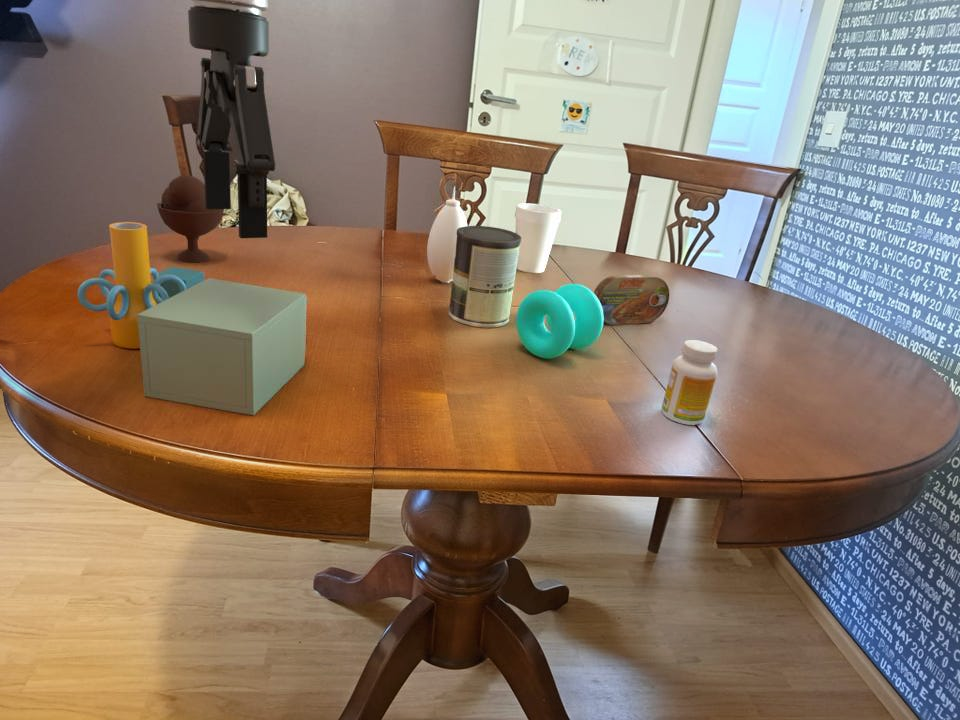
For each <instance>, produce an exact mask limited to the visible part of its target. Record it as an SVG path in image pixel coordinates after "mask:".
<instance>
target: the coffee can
mask: <svg viewBox="0 0 960 720" xmlns="http://www.w3.org/2000/svg"><path fill="white" fill-rule="evenodd" d="M521 239H522V238H521V236H520V235H518V234H516V232H514V231H511V230H508V229H505V228H501V227H494V226H485V225H467V226H464V227H460V228H458V229H457V241H456V251H455V260H454V270H453V280H452V281H451V290H450V298H449V309H448V316H449V318H451V319H452V320H454V321H455V322H456V323H460V324H461V325H465V326H470V327H473V328H474V327H475V328H486V329H489V328H500V327H503V326H505V325H507V324H508V323H509V322H510V315H511V314H510V313H511V307H512V300H513V294H514V288H515V287H514V286H515V281H516V272H517V268H516V267H517V260H518V253H519V246H520V243H521Z"/></svg>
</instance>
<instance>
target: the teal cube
mask: <svg viewBox="0 0 960 720" xmlns="http://www.w3.org/2000/svg"><path fill="white" fill-rule="evenodd" d="M158 274H159V277H160V276H163V275H174V276H177V277H179V278H180V279H181V280H182V281H183V282H184V283H185V285H186V289H188V288H190V287H192V286H194V285H196V284H198V283H200V282H202V281H204V280H205V272H204V271H203V270H197V269H190V268H184V267H179V266H178V267H176V266H171V267H168V268H166V269H164V270H162V271H159V272H158ZM160 286H161V287H163V288H164V289H165V291H166V292H167V294H168V296H169V298H171V297H173V296H175V295H177V294H179V293H180V287H179V286H178V284H177V283H175V282H173V281H164V282H162V283H161V284H160ZM158 295H159V297H160V298H161V299H162V297H161V295H160V294H159V293H158Z"/></svg>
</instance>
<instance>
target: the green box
mask: <svg viewBox="0 0 960 720" xmlns="http://www.w3.org/2000/svg"><path fill="white" fill-rule="evenodd" d="M306 297H307V293H306V292H305V293H304V292H299V291H298V292H297V291H293V290H285V289H279V288H273V287H267V286H262V285H261V286H260V285H255V284H248V283H242V282H235V281H230V280H222V279H219V278H218V279H217V278H212V277H209V278H206V279H204V281H202V282H200V283H198V284H196V285H194V286H192V287H190V288H188V289H186V290H185V291H183V292H181V293H179V294H177V295H175V296H173V297H171V298H169V299H167V300H165V301H163V302H161V303H159V304H157V305H155V306H153V307H151V308H149V309H147V310H145V311H143V312H141V313H139V314H137V318H138V321H139V322H138V328H139V339H140V348H139V349H140V358H141V360H140V361H141V370H142V371H141V372H142V380H143V381H142V383H143V396H144V397H146V398H153V399H157V400H164V401H168V402H174V403H182V404H185V405H191V406H192V405H193V406H198V407H204V408H208V409H215V410H220V411H226V412H231V413H237V414H243V415H248V416H255V415H256V414H257V413H258V412H259V411H260V410H261V409H262V408H263V407H264V406H265V405H266V404H267V403H268V402H269V401H270V400H271V399H272V398H273V397H274V396H275V395H276V394H277V393H278V392H279V391H280V390H281V389H282V388H283V387H284V386H285V385H286V384H287V383H288V382H289V381H290V380H291V379H292V378H293V377H294V376H295V375H296V374H297V373H298V372H299V371H300V370H301V369H302V368H303V367H304V366H305V364H306V362H305V361H306V360H305V359H306V343H305V316H306V317H307V306H306Z"/></svg>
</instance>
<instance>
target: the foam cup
mask: <svg viewBox="0 0 960 720" xmlns="http://www.w3.org/2000/svg"><path fill="white" fill-rule="evenodd" d="M514 212H515V213H514V217H515V233H516V234H518V235H520V236H521V238H522V239H521V243H520V246H519V253H518V260H517V267H516V270H518V271H521V272H524V273H530V274H534V273H535V274H539V273H543V272H545V269H546V267H547V263H548V260H549V256H550V253H551V250H552V246H553V243H554V239H555V236H556V233H557V229H558V227H559V224H560V223H561V217H562V210H561V209H560V208H557V207H554V206H551V205H546V204H539V203H530V202H529V203H528V202H524V203H522V202H521V203H517V204H516V206H515V211H514Z"/></svg>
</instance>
